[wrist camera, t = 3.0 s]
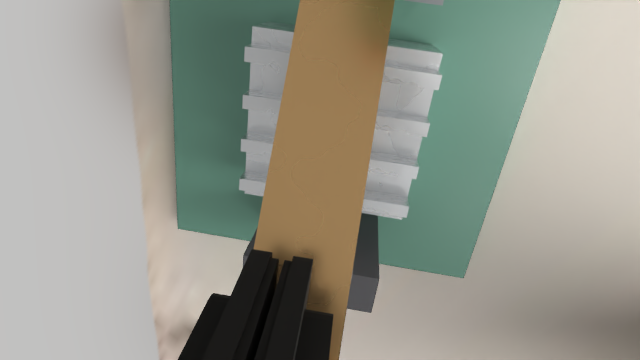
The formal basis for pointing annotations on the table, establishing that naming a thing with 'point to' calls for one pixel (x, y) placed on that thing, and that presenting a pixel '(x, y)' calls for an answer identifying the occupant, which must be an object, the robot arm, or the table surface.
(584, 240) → the table surface
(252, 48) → the heat sink
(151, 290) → the table surface
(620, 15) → the table surface
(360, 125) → the strap
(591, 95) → the table surface
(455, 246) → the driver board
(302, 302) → the robot arm
